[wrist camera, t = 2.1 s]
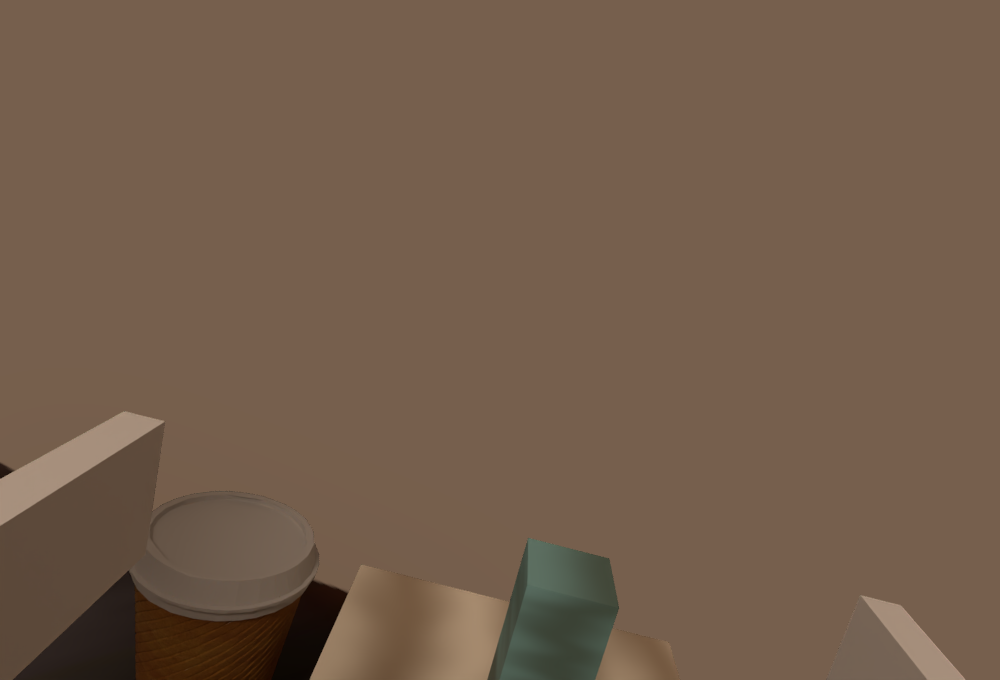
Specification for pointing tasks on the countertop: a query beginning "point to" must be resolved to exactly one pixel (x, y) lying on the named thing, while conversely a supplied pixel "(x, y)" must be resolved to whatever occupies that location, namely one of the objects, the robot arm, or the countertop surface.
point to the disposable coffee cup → (219, 586)
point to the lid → (492, 628)
